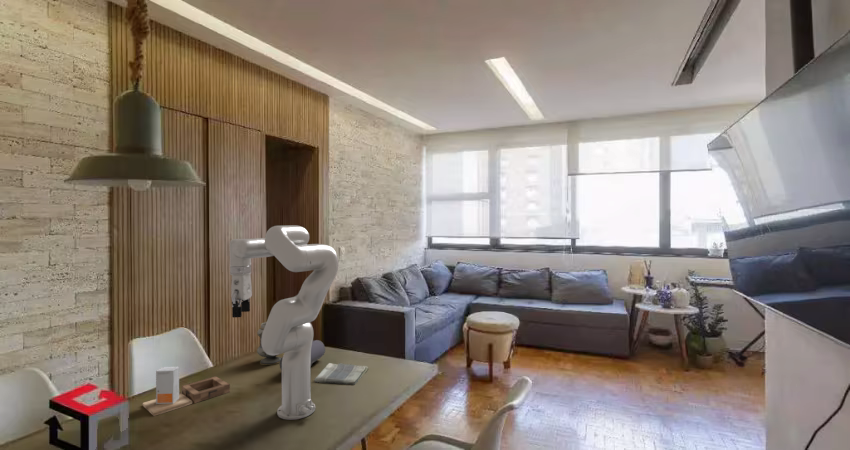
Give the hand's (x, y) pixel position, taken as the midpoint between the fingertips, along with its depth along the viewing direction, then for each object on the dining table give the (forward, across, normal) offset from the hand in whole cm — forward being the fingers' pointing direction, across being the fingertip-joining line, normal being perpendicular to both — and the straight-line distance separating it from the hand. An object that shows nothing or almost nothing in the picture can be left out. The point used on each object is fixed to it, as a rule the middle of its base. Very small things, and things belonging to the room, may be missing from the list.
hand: (241, 314), depth 158 cm
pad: (+29, -10, +23) cm, 38 cm away
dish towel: (+31, +11, -37) cm, 50 cm away
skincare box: (+28, -10, +22) cm, 38 cm away
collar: (+29, -1, +13) cm, 32 cm away
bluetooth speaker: (+30, +21, -19) cm, 41 cm away
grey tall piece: (+30, +32, -2) cm, 43 cm away
